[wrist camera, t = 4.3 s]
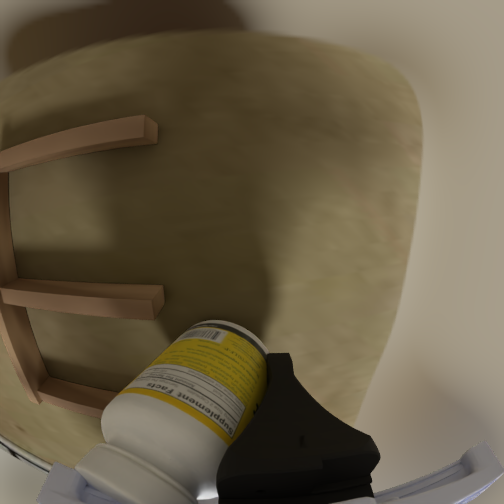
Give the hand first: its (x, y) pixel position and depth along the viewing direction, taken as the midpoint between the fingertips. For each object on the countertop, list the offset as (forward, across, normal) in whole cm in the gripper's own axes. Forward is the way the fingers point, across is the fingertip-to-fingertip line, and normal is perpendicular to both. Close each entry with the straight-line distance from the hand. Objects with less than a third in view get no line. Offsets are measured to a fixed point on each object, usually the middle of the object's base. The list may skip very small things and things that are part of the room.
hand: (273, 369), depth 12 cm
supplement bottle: (+2, +2, +1) cm, 3 cm away
